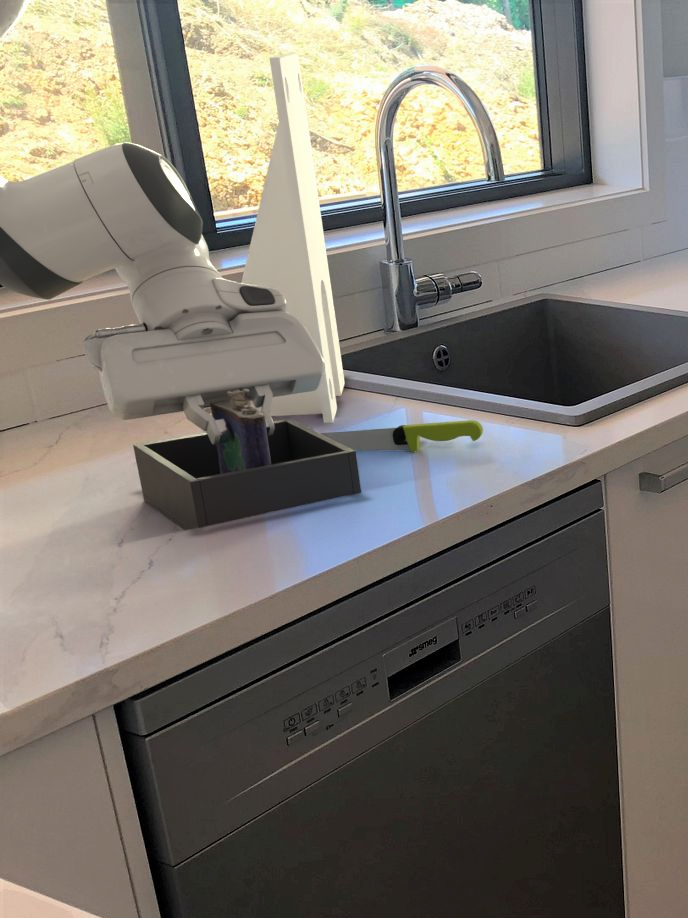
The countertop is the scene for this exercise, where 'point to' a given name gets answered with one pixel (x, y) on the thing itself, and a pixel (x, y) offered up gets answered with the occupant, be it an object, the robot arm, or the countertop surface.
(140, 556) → the countertop surface
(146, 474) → the open dark grey box
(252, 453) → the flask
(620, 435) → the countertop surface
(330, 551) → the countertop surface
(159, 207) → the robot arm
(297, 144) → the white bracket plate
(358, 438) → the kitchen knife
